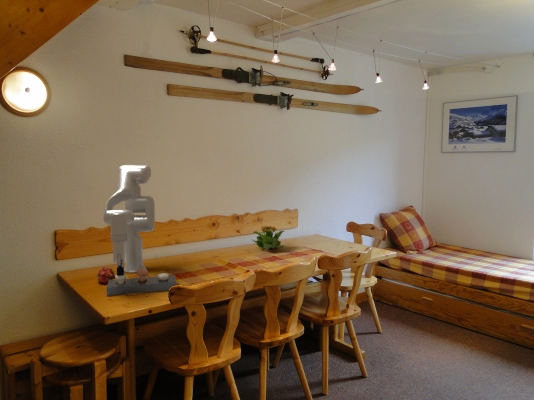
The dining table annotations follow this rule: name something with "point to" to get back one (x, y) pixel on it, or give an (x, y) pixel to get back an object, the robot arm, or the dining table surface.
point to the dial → (142, 274)
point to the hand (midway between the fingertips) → (120, 275)
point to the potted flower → (269, 239)
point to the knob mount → (140, 285)
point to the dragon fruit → (105, 275)
